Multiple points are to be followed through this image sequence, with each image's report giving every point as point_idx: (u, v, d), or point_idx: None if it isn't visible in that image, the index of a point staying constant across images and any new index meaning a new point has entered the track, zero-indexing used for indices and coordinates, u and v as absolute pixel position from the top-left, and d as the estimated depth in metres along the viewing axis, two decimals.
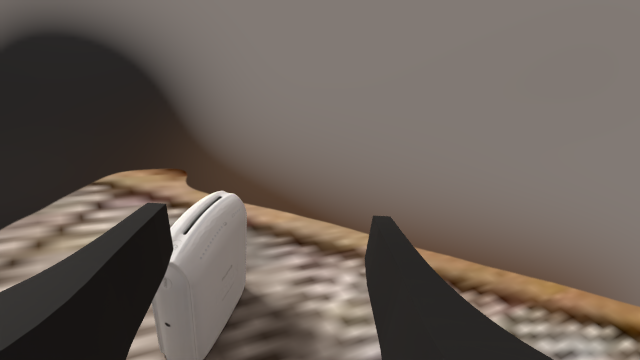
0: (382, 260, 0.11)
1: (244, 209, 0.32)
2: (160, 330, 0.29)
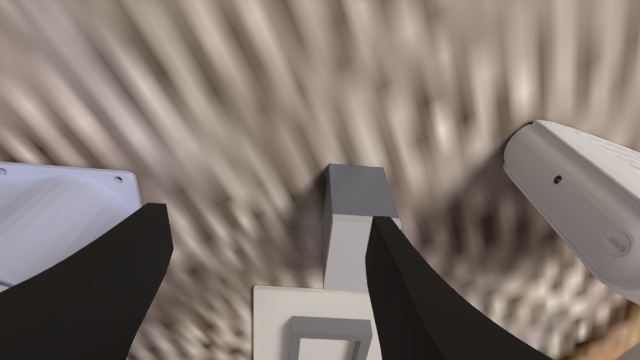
0: (382, 260, 0.11)
1: None
2: (559, 147, 0.19)
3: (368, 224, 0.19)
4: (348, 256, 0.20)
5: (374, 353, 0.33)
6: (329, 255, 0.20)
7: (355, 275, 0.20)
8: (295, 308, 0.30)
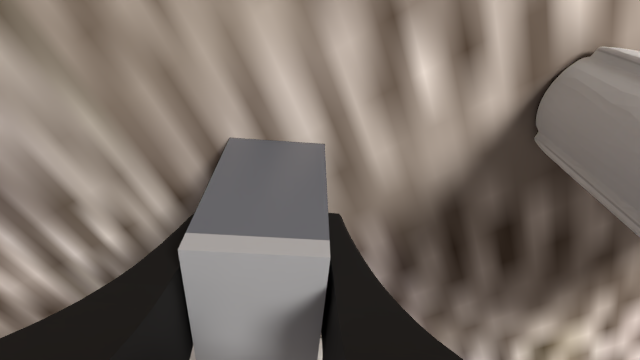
0: None
1: None
2: None
3: (257, 255, 0.08)
4: (231, 317, 0.10)
5: None
6: (191, 316, 0.10)
7: (254, 350, 0.10)
8: None
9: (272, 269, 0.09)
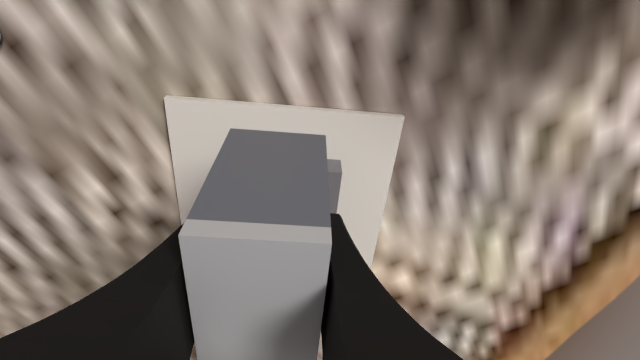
0: None
1: None
2: None
3: (258, 241, 0.08)
4: (231, 305, 0.10)
5: (349, 223, 0.24)
6: (191, 304, 0.10)
7: (254, 339, 0.10)
8: None
9: (273, 255, 0.09)
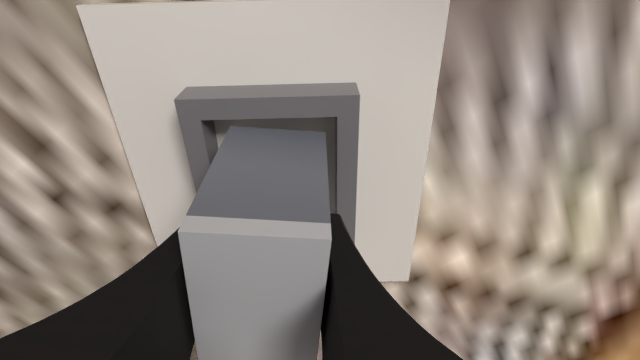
0: None
1: None
2: None
3: (258, 237, 0.08)
4: (231, 302, 0.10)
5: (378, 182, 0.17)
6: (191, 301, 0.09)
7: (254, 336, 0.10)
8: (186, 62, 0.14)
9: (272, 251, 0.09)
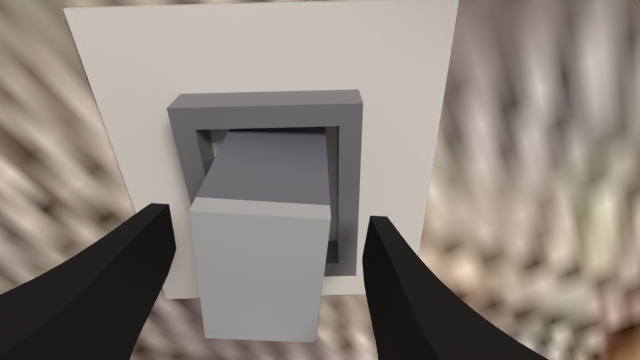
0: (379, 260, 0.11)
1: None
2: None
3: (263, 217, 0.09)
4: (237, 279, 0.10)
5: (381, 192, 0.16)
6: (200, 278, 0.10)
7: (258, 313, 0.11)
8: (180, 68, 0.13)
9: (276, 231, 0.09)
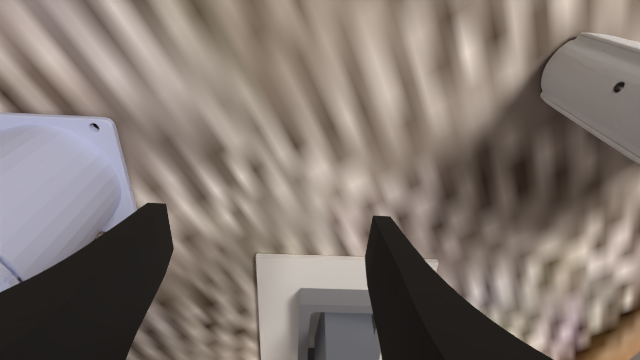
0: (382, 260, 0.11)
1: None
2: (617, 53, 0.16)
3: None
4: None
5: None
6: None
7: None
8: (303, 279, 0.27)
9: None
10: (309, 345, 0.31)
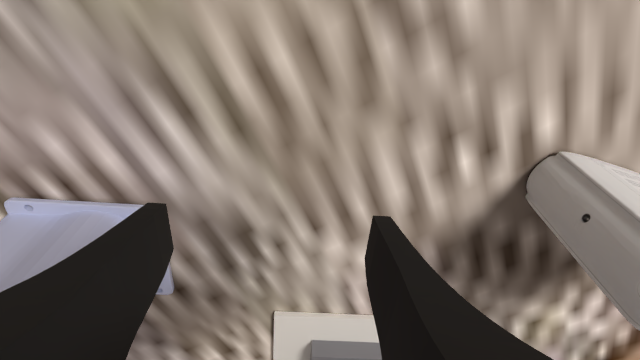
0: (382, 260, 0.11)
1: None
2: (586, 184, 0.19)
3: None
4: None
5: None
6: None
7: None
8: (315, 333, 0.30)
9: None
10: None
